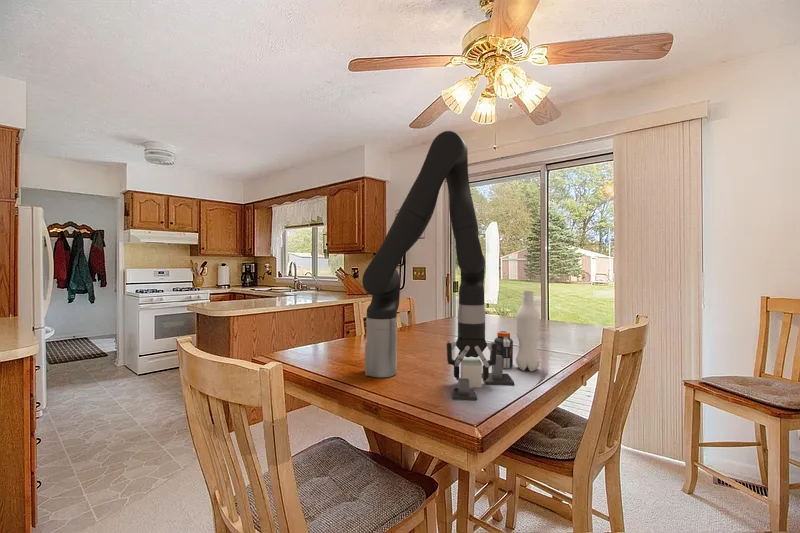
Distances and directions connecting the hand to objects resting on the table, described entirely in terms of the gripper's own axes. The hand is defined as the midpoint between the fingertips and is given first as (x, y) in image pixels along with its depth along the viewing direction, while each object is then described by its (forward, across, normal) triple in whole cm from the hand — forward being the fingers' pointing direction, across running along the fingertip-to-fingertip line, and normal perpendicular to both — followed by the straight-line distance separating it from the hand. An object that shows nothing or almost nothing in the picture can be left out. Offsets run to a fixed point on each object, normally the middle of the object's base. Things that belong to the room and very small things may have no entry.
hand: (471, 379), depth 105 cm
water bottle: (+2, +20, +16) cm, 26 cm away
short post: (+1, -3, -9) cm, 10 cm away
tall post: (+1, +8, +4) cm, 9 cm away
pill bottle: (+2, +13, +19) cm, 23 cm away
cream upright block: (+1, 0, 0) cm, 1 cm away
